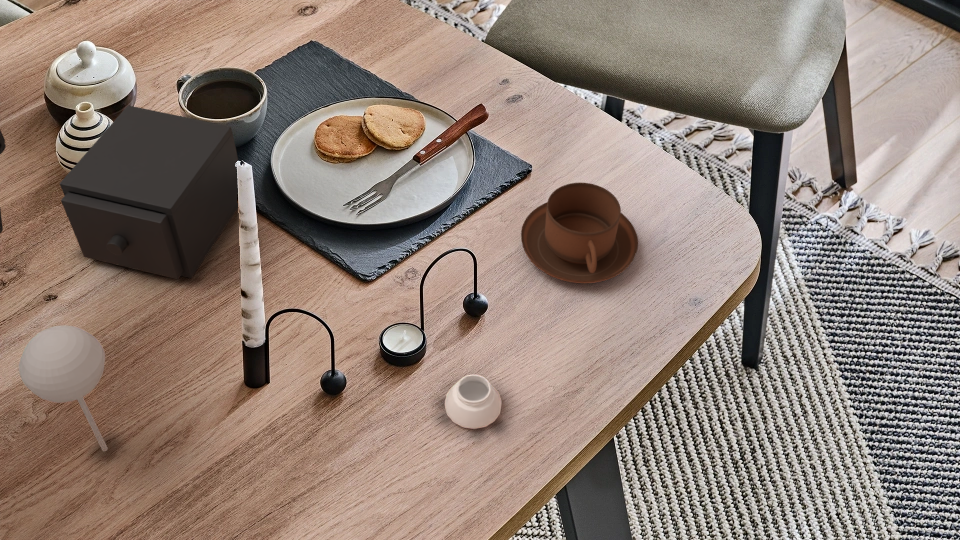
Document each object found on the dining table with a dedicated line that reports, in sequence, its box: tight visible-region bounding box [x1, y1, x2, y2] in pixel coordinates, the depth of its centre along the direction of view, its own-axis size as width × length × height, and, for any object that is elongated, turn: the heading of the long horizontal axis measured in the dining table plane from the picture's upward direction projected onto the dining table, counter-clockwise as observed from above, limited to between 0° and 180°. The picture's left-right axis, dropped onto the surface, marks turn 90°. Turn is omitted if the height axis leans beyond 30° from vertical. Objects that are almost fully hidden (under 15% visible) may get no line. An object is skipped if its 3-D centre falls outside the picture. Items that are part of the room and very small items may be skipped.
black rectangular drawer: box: [60, 192, 184, 280], centre depth 94 cm, size 13×10×8 cm
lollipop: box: [18, 324, 109, 452], centre depth 75 cm, size 6×6×15 cm
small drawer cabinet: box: [59, 105, 239, 279], centre depth 96 cm, size 13×12×10 cm
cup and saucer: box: [520, 182, 639, 284], centre depth 96 cm, size 12×12×6 cm
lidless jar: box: [444, 373, 503, 430], centre depth 84 cm, size 5×3×5 cm
